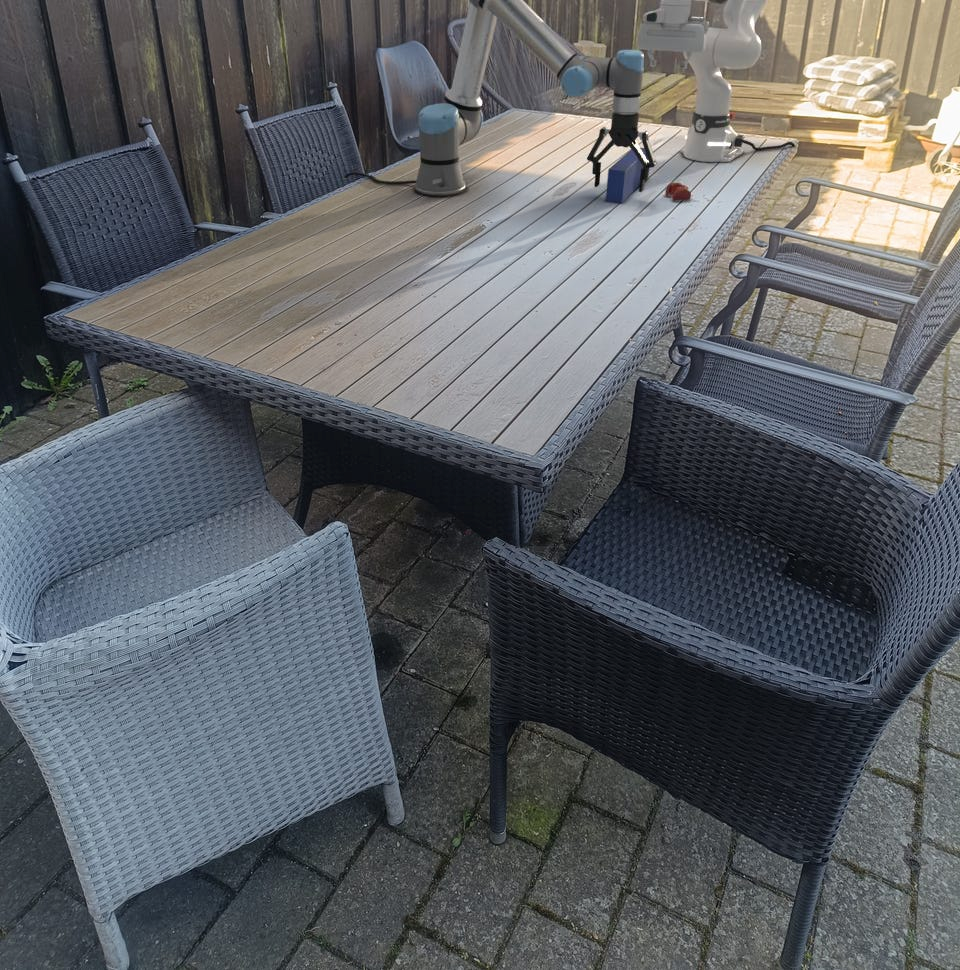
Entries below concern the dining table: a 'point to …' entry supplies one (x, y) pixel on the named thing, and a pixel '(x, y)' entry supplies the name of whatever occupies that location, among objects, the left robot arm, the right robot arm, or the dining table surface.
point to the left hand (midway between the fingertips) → (618, 188)
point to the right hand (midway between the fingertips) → (668, 67)
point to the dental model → (678, 191)
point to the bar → (624, 177)
